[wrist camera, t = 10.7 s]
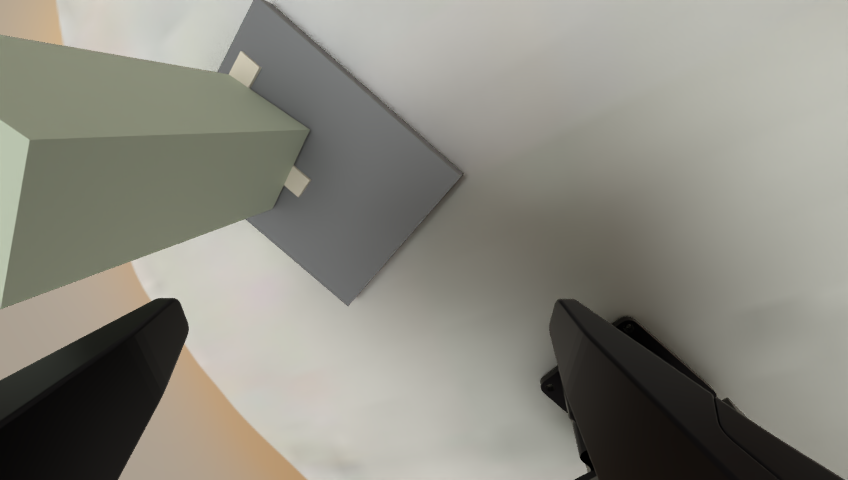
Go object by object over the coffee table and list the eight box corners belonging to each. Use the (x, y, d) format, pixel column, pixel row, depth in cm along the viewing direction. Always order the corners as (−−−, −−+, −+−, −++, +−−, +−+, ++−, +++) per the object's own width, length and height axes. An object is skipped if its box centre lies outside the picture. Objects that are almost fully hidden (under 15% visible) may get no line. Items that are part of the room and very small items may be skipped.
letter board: (463, 173, 20) (460, 177, 18) (355, 297, 23) (346, 307, 22) (270, 3, 19) (252, -6, 18) (190, 156, 23) (171, 158, 21)
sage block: (310, 129, 19) (28, 139, 8) (272, 208, 21) (0, 309, 10) (228, 74, 19) (-167, 6, 8) (198, 158, 21) (-160, 199, 10)
